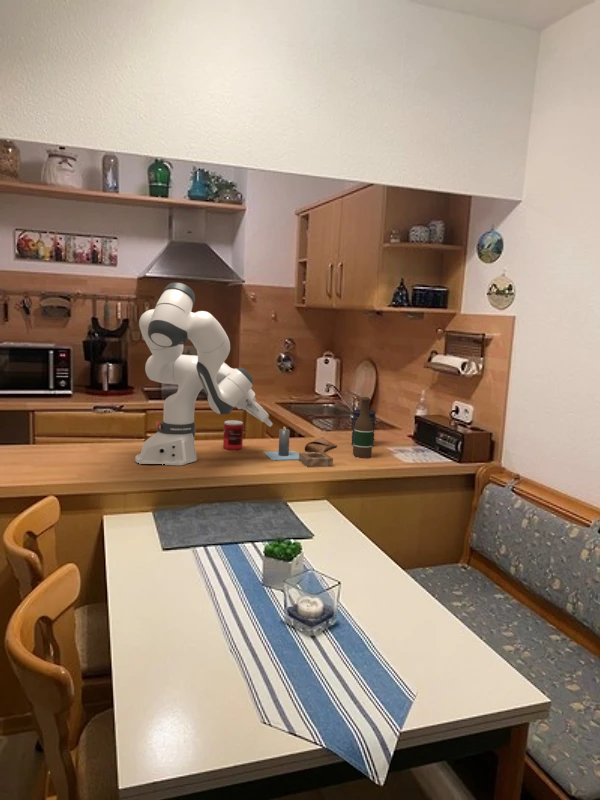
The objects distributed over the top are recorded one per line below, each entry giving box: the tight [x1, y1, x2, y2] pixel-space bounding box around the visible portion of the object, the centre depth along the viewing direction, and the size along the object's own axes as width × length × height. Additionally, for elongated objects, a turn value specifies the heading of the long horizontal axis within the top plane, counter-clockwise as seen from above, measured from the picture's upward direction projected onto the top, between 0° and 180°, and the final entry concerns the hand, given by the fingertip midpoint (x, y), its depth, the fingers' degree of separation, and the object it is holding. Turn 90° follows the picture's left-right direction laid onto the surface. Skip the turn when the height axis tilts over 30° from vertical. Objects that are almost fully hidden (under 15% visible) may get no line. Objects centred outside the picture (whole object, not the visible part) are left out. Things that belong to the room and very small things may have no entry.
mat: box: [262, 450, 299, 462], centre depth 240 cm, size 13×13×1 cm
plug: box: [278, 426, 291, 456], centre depth 240 cm, size 4×4×11 cm
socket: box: [298, 452, 334, 468], centre depth 231 cm, size 10×10×3 cm
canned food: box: [222, 419, 244, 451], centre depth 249 cm, size 8×8×11 cm
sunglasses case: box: [304, 436, 338, 453], centre depth 257 cm, size 18×7×7 cm
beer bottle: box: [352, 396, 373, 459], centre depth 245 cm, size 8×8×24 cm
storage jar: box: [351, 409, 377, 447], centre depth 268 cm, size 10×10×15 cm
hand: (267, 423), depth 237 cm, fingers open, 8 cm apart
